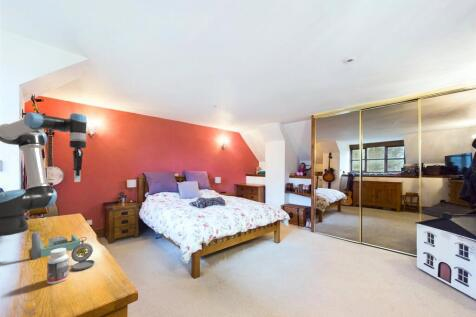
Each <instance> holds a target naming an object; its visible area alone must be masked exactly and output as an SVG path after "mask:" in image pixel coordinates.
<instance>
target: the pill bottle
mask: <svg viewBox="0 0 476 317" xmlns="http://www.w3.org/2000/svg"><path fill="white" fill-rule="evenodd" d="M49 256H50V257H49V258H48V259H47V261H46V262H47V264H46V266H47V267H46V268H47V269H46V283H47V284H48V285H55V284H59V283H62V282H64V281H65V280H67V279H68V278H69V272H70V271H69V270H70V269H69V267H70V263H69V262H70V256H69V255H68V254H67V251H66V248H58V249H54V250H52V251H51V252H50V255H49Z"/></svg>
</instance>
